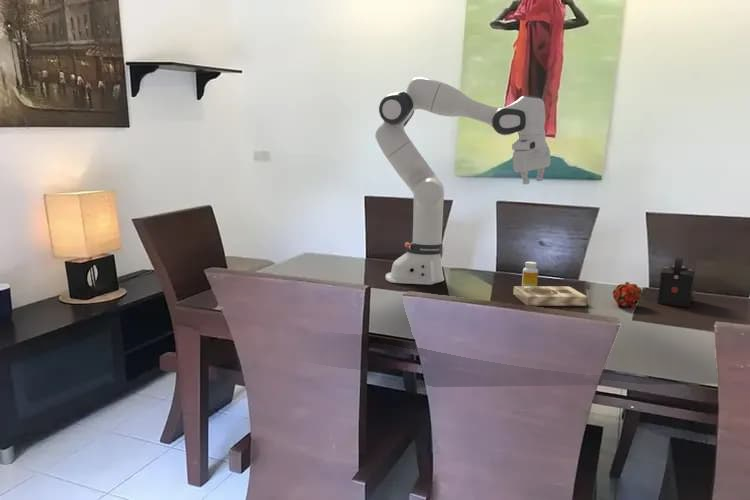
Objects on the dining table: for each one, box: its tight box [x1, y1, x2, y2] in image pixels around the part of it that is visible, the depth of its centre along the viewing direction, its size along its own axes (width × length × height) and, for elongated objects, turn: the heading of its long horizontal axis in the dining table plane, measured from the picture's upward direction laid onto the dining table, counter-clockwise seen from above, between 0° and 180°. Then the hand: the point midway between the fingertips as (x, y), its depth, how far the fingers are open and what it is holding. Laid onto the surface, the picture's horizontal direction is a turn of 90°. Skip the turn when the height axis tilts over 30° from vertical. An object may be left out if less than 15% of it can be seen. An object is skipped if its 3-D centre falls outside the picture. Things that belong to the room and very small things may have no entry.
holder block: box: [512, 285, 588, 307], centre depth 191 cm, size 20×14×3 cm
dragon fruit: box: [612, 281, 643, 308], centre depth 185 cm, size 8×8×12 cm
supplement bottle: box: [521, 261, 539, 286], centre depth 206 cm, size 5×5×10 cm
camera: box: [657, 257, 696, 308], centre depth 192 cm, size 11×14×15 cm
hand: (532, 182), depth 202 cm, fingers open, 8 cm apart
